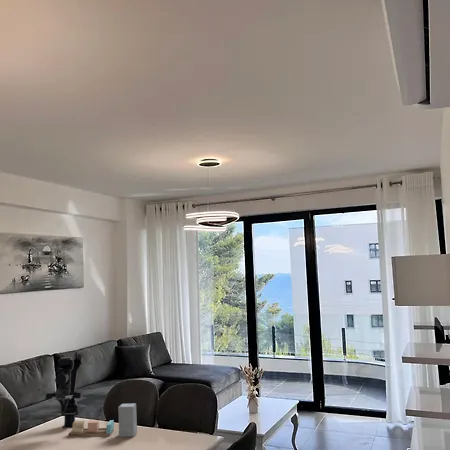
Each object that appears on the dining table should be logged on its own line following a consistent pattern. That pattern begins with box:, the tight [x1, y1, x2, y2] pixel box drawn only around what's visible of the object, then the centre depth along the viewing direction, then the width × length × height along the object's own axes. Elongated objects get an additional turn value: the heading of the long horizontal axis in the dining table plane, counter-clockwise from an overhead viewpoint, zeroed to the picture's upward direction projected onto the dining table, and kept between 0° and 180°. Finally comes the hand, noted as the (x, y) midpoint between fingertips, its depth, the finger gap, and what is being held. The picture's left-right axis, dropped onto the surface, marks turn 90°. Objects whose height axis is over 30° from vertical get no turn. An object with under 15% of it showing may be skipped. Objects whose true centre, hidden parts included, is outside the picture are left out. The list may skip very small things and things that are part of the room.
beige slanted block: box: [71, 420, 85, 432], centre depth 248 cm, size 4×5×5 cm
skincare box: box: [117, 402, 138, 438], centre depth 246 cm, size 8×7×16 cm
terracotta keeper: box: [87, 419, 100, 432], centre depth 249 cm, size 4×5×5 cm
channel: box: [67, 427, 115, 438], centre depth 248 cm, size 9×22×2 cm, turn 92°
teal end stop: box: [106, 419, 115, 434], centre depth 249 cm, size 9×2×4 cm, turn 2°
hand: (63, 411), depth 249 cm, fingers closed
